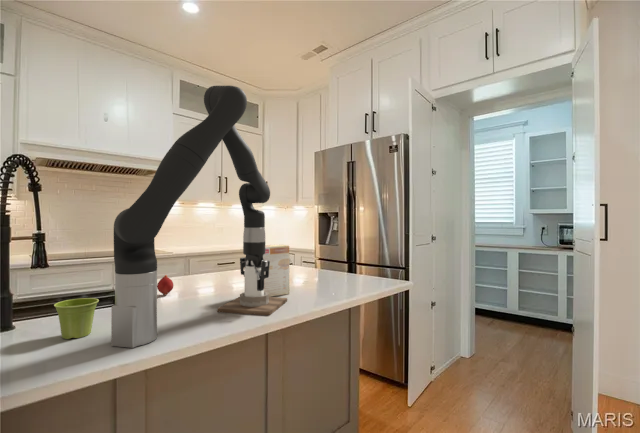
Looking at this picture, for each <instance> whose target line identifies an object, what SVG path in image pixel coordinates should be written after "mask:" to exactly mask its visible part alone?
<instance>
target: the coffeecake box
mask: <svg viewBox="0 0 640 433" xmlns="http://www.w3.org/2000/svg"><path fill="white" fill-rule="evenodd" d="M263 259H264V260H269V261H270V264H269V277H268V278H265V279H264V292H268V293H269V297H278V296H283V295H289V294H290V246H289V245H286V244H274V245H271V244H270V245H265V254H264V255H263ZM265 273H266V271H265V272H264V275H265Z"/></svg>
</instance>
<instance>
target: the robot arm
mask: <svg viewBox="0 0 640 433" xmlns="http://www.w3.org/2000/svg"><path fill="white" fill-rule="evenodd" d="M203 104H204V107H205V110H206V111H207V114H208V115H207V117H206V118H204V119H203V120H202V121H201V122H199V123H198V124H197V125H195V126H193V127H192V128H191V129H189V130H188V131H186V132H185V133H183V134H182V135H181V136H180V137H178V139H176V141H175V142H174V143H173V144H172V146H171V147H170V149H169V150H168V151H167V152H166V154H165V155H164V156H163V158H162V159H161V161H160V163H159V165H158V167H157V169H156V171H155V173H154V175H153V177H152V180H151V181H150V183H149V184H148V186H147V187H146V189H145V190H144V191H143V192H142V194H140V196H139V197H138V198H137V199H136V200H135V201H134V203H133V204H132V205H130V206H129V208H125V209H123V210H122V211H120V212H119V213H118V214H117V216H116V217H115V219H114V222H113V260H114V261H113V262H114V305H112V306H111V321H110V322H111V329H110V330H111V331H110V332H111V336H110V338H111V344H110V345H111V347H120V348H129V349H131V348H132V349H133V348H136V347H139V346H143V345H147V344H149V343H152V342H154V341H155V340H156V339H157V337H158V289H157V284H158V261H157V260H158V259H157V256H156V250H155V249H156V248H155V238H157V237H156V236H158V235H159V233H160V230H161V229H162V227H163V226H164V223H165V220H167V217H168V216H169V213H170V212H171V210H172V208H173V207H174V206H175V204H176V202H177V201H178V200H179V199H180V197H181V196H182V195H183V194H184V192H186V190H187V189H188V188H189V186H190V185H191V183H193V181H194V180H195V178H196V177H197V176H198V175H199V174H200V172H201V170H202V169H203V168H204V166H205V164H206V163H207V162H208V160H209V159H210V157H211V155H212V154H213V152H214V151H215V150H216V149H217V147H218V146H219V145H220V143H221V141H222V142H223V144H224V146H225V147H226V149H227V152H228V154H229V157H230V158H231V162H232V165H233V167H234V169H235V173H236V175H237V177H238V179H239V181H242V182H245V183H242V184H241V185H240V186H239V190H238V197H239V198H238V199H239V202H240V205H241V209H242V213H243V236H242V244H243V245H242V253H243V255H245V257H240V258H239V265H240V275H243V277H244V278H245V268H246V265H247V266H254V269H255V273H256V274H257V279H258V280H257V290H258V291H262V290H264V279H265V278H268V277H269V264H270V261H269V260H264V259H263V255H264V254H265V246H266V229H265V227H266V226H265V225H266V220H265V219H266V217H265V216H266V215H265V212H264V211H263V210H259V209H256V208H255V207H254V204H264V203H267V202H268V201H269V200H270V199H271V190H270V187H269V184H268V183H267V182H266V180H265V179H264V177H263V175H262V173H261V172H260V171H259V168H258V166H257V165H258V164H257V163H256V162H257V161H256V159H255V157H254V154H253V151H252V149H251V147H250V146H249V145H248V144H247V142H246V141H245V140H244V138H243V136H242V134H240V133H239V131H238V129H237V126H236V124H237V123H238V121H240V120H241V118H242V117H243V115H244V113H245V112H246V109H247V106H248V99H247V94H246V92H245V91H244V90H243V89H242V88H240V87H238V86H234V85H212V86H209V87H208V88H207V89H206V90H205V92H204V95H203ZM256 267H257V268H261V270H257V268H256ZM265 271H266V273H265V275H264V272H265ZM260 272H261V276H260V274H259V273H260Z"/></svg>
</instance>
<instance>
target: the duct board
mask: <svg viewBox="0 0 640 433" xmlns="http://www.w3.org/2000/svg"><path fill="white" fill-rule="evenodd" d="M287 302H288V297H278V296H272V297H269V293H268V292H264V296H259V297H246V296H245V291H244V292H242V293H239V296H238V297H236V298H234V299H232V300H230V301H229V302H227V303H225V304H223V305H221V306H219V307H217V308H216V309H217V310H216V311H217V313H230V314H240V315H241V314H243V315H256V316H257V315H259V316H271V315H273V313H275V312H276V311H277V310H279V308H281V307H282V306H284V305H285V304H286V303H287Z"/></svg>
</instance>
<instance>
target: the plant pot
mask: <svg viewBox="0 0 640 433" xmlns="http://www.w3.org/2000/svg"><path fill="white" fill-rule="evenodd" d="M99 301H100V300H99V299H98V298H94V297H85V298H72V299H66V300H61V301H58V302H56V303H54V304H53V306H54V308H55V309H56V312H57V315H58V320H59V322H58V323H59V327H60V333H61V338H62V339H66V340H71V339H72V338H75V339H79V338H84V337H87V336H88V335H90V334H91V333H92V328H93V323H94V315H95V312H96V308H97V305H98V303H99Z"/></svg>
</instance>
